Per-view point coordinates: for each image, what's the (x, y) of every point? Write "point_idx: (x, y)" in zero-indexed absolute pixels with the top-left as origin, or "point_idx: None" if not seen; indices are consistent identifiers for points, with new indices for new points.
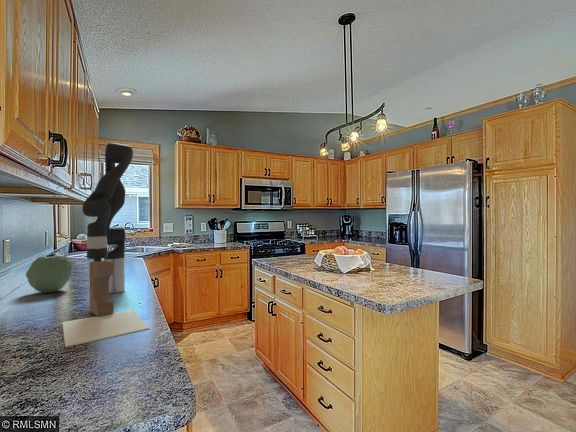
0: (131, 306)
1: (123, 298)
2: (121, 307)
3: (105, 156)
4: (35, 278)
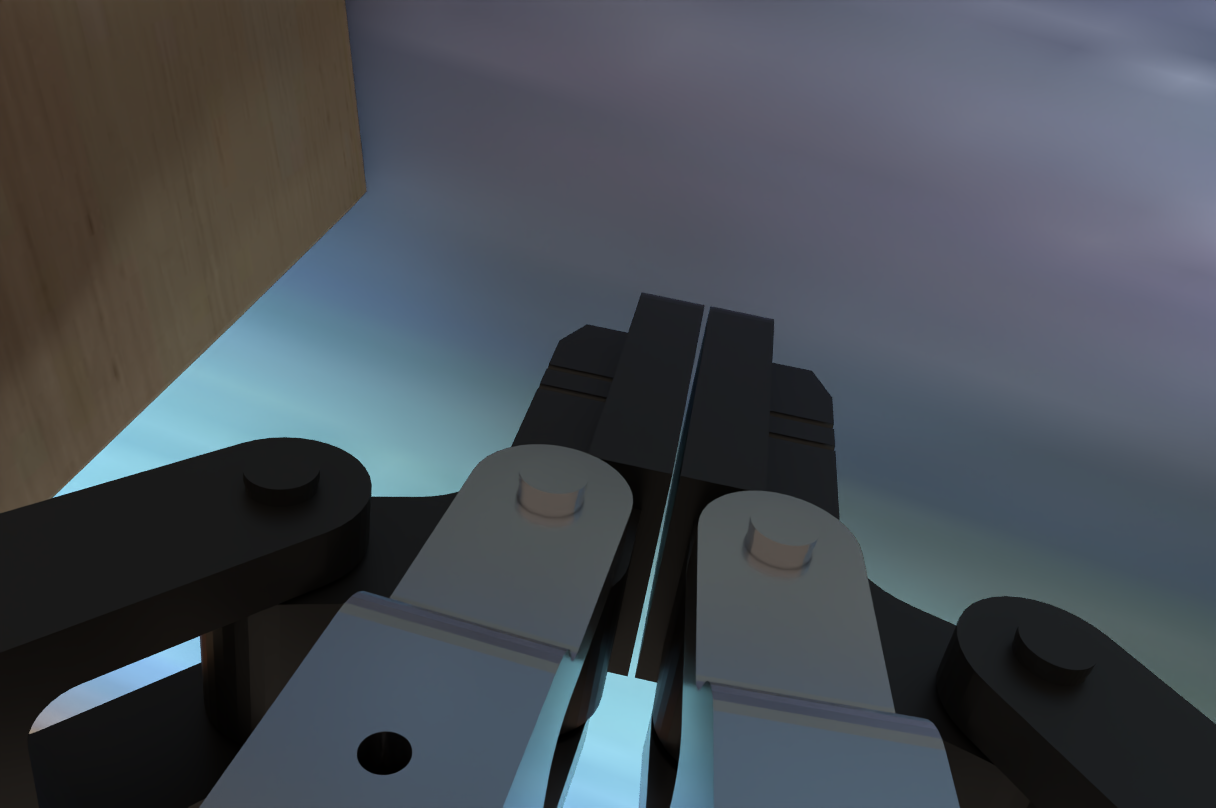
0: None
1: None
2: (304, 434)
3: None
4: None
